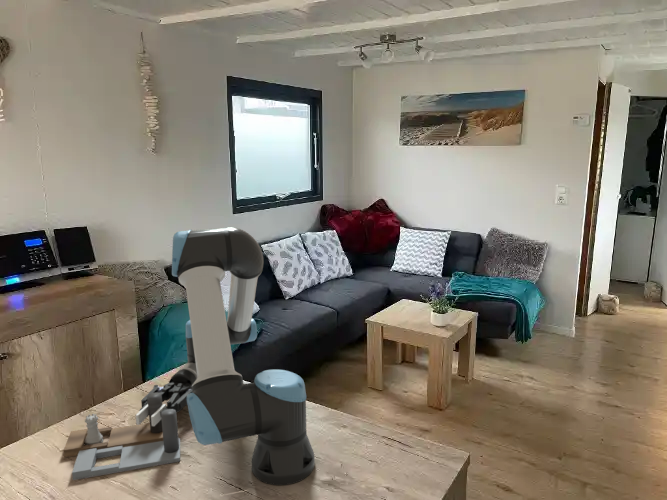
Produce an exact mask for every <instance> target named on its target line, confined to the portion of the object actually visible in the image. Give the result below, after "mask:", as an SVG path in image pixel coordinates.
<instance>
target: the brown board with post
mask: <svg viewBox="0 0 667 500" xmlns="http://www.w3.org/2000/svg"><path fill="white" fill-rule="evenodd" d="M147 399H148V410H149V416H148V419H149V422H146V423H141V424H139V425H136V424H134V425H133V424H132V425H126V426H122V427H115V428H113V427H112V426H110V427H109V426H108V427H101V428H98V430H99V432H100V433H101V435H102V436H103V437H106V436H109V439H108V441H106V442H104V441H103V443H98V444H92V445H85V439H86V436H87V431H88V429H87V428H86V429H78V430H71V431H70V432H69V435H68V437H67V441H66V443H65V446H64V448H63V456H64V458H69V457H70V458H71V457H77V456H78V453H79V451H82V450H88V449H94V448H97V450H99V449H105V448H111V447H117V446H123V447H128V446H135V445H141V444H147V443H153V442H159V441H163V430H162V419H161V420H160V421H159V422H158V423H157V424H156V425H155V426H152V423H151V416H152V415H153V414H154V413H155V412H156V411H157V410H158V409H159V408H160V407H161V406H162V405H163V402H162V394H161V393H158V392H156V393H151V394H149V395H148V396H147Z"/></svg>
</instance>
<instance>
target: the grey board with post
mask: <svg viewBox="0 0 667 500" xmlns="http://www.w3.org/2000/svg"><path fill="white" fill-rule="evenodd" d="M177 418H178V416H177V412H176V410H174V409H167V410H164V411H163V412H162V413H161V419H162V430H163V441H159V442H153V443H147V444H141V445H135V446H128V447H123V446H117V447H111V448H105V449H99V450H97V448H94V449H88V450H82V451H79V453H78V455H77V456H76V459H75V462H74V465H73V469H72V471H71V476H72V481H76V480H83V479H87V478H88V479H89V478H92V477H93V478H94V477H99V476H105V475H111V474H116V473H123V472H127V471H133V470H138V469H144V468H149V467H150V468H151V467H156V466H161V465H166V464H172V463H177V462H178V463H179V462H181V438H180V437H179V431H178V430H179V428H178V419H177ZM119 455H120V459H119V462H116V463H109V464H104V465H99V466H96V462H97V459H103V458H109V457H115V456H119Z"/></svg>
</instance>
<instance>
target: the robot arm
mask: <svg viewBox="0 0 667 500" xmlns="http://www.w3.org/2000/svg"><path fill="white" fill-rule="evenodd" d="M171 255H172V257H171V258H172V259H171V275H172V276H173V277H175V278H177V277H178V283H179V284H180V285H181V286H184V288H185V293H186V299H187V306H188V314H189V315H188V316H189V320H188V321H186V323H185V342H186V352H187V363H185V364H184V365H183V366H182V367H181V368H180V369H178V371H176V372H175V373H174V374H173V375H172V376H171V378H170V379H169V381H168V383H165V384H164V385H163V386H159V384H155V385H153V387H152V389H151V390H150V391H149V392H148V393H147V394H146V395H145V396H144V397H143V398H142V399H141V402H140V404H141V408H140V409H139V410H138V412H137V413H136V414H135V423H136V424H135V425H139V424H143V422H144V421H145V420H146V419H147V418H149V410H148V399H147V396H148V395H149V394H151V393H156V392H158V393H161V394H162V406H161V407H160V408H159V409H158V410H157V411H156V412H155V413H154V414H153V415H152V416H151V423H152V426H155V425H156V424H157V423H158V422H159V421H160V420H161V413H162V412H163V411H164V410H167V409H174V410H176V413H179V412H180V411H181V410H183V409H184V408H185V407H186V406H187V409H188V415H189V419H190V423H191V427H192V429H193V430H192V431H193V433H194V436H195V439H196V441H197V442H198V443H199V444H200V445H202V446H208V445H209V446H210V445H215V444H218V445H221V444H222V443H225V442H230V441H234V440H238V439H244V438H247V437H252V436H256V435H257V439H256V442H255V443H256V444H255V447H254V450H253V453H252V456H251V471H252V473H253V475H254V477H255V478H256V479H257V480H259V481H260V482H263V483H265V484H269V485H275V486H285V485H291V484H294V483H298V482H300V481H302V480H305V478H307V477H308V476H309V475H311V473H312V472H313V471H314V468H315V465H316V464H315V461H316V460H315V451H314V449H313V447H312V444H311V442H310V440H309V437H308V434H307V403H306V402H307V393H306V392H307V391H306V385H305V382H304V379H303V378H302V377H301V376H300V375H298V374H297V373H294V372H293V371H289V370H287V369H286V370H285V369H278V368H277V369H266V370H263V371H261V372H259V373H257V374H256V375H255V377H254V380H253V381H254V382H253V381H252V382H250V383H249V382H248V383H244V379H243V376H242V374H241V373H239V372H237V371H236V370H235V364H234V358H233V353H232V352H233V351H232V347H231V345H237V344H238V345H239V344H246V343H249V342H250V343H251V342H255V340H256V339H257V337H258V333H257V332H258V327H257V322H256V321H255V319H254V318H253V312H254V305H255V299H256V294H257V293H256V291H257V284H258V278H259V276H260V275H261V274H262V272H263V268H264V256H263V255H264V254H263V251H262V249H261V247H260V245H259V243H258V242H257V240H256V239H255V238H254V236H252V235H251V234H249V233H248V232H246V231H245V230H243V229H241V228H237V227H231V226H228V227H218V228H206V229H188V230H181V231H180V230H179V231H177V232H175V233H174V235H173V237H172V254H171ZM226 272H229V273H230V274H231V276H230V284H229V285H230V287H229V297H228V309H227V315H226V310H225V304H224V298H223V291H222V286H221V282H222V281H223V279H224V278H225V275H226ZM164 402H166V403H164Z"/></svg>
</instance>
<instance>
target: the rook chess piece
mask: <svg viewBox="0 0 667 500" xmlns="http://www.w3.org/2000/svg"><path fill="white" fill-rule="evenodd" d="M98 421H99V417H98V416H97V413H92V414H90V413H89V414H88V415H86V416H85V419H84V423H86V426H85V427H86V429H87V436H86V439H85V445H92V444H98V443H104V441H105V440H104V436H102V435H101V433H100V432H99V430H98V429H99V426H98V425H99V423H98Z"/></svg>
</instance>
